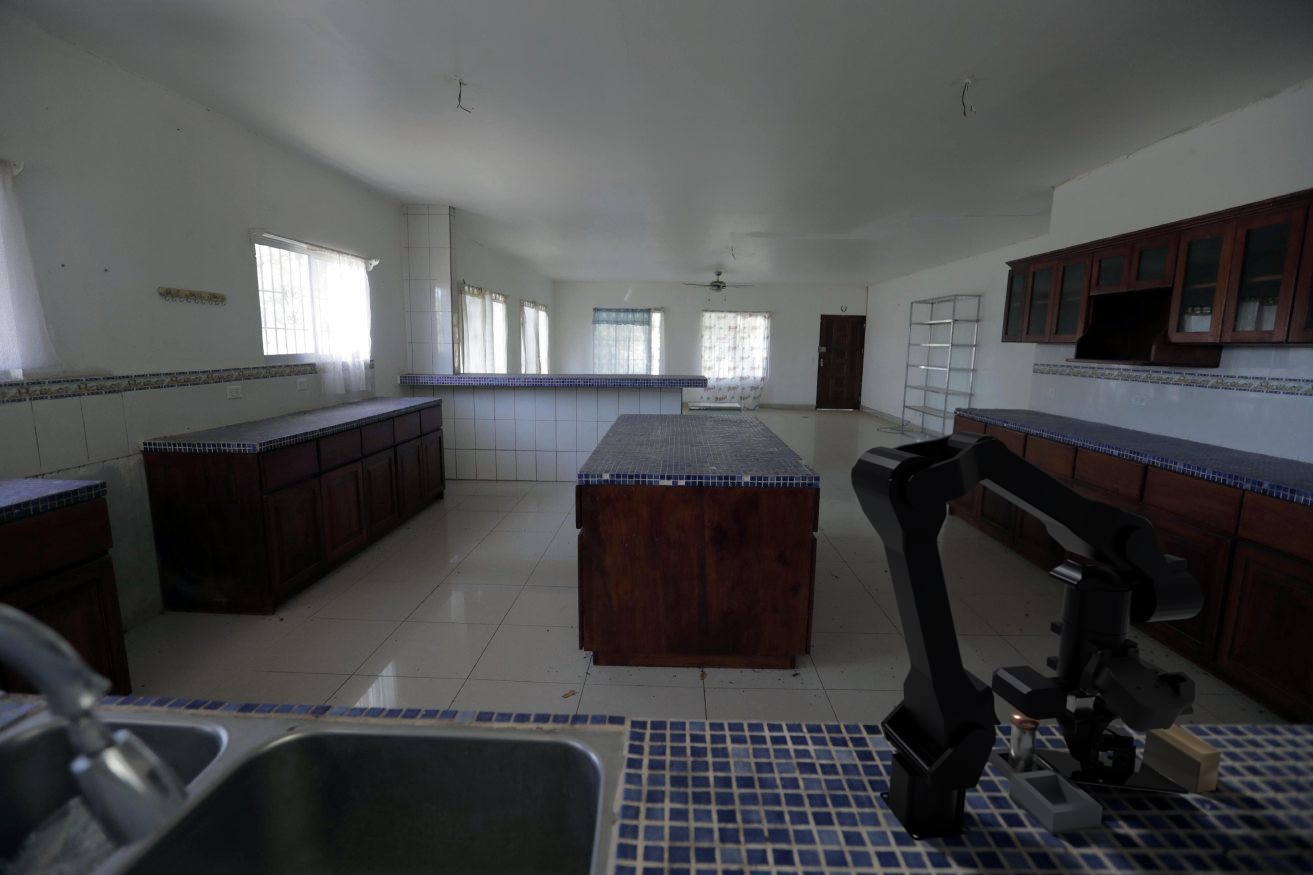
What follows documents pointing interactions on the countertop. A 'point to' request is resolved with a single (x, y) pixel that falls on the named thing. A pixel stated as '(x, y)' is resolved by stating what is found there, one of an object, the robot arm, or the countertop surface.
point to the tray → (1055, 802)
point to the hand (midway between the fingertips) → (1077, 758)
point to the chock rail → (1182, 758)
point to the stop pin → (1022, 742)
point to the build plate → (1110, 765)
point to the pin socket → (999, 761)
